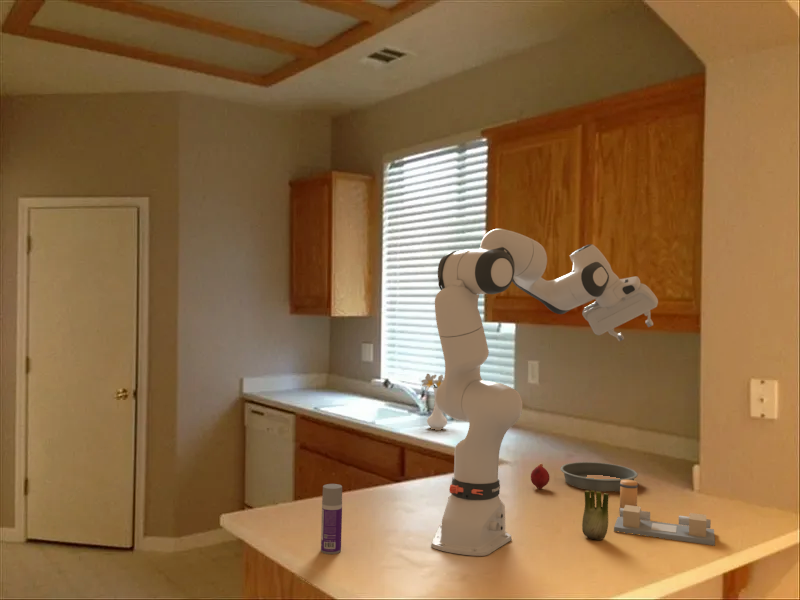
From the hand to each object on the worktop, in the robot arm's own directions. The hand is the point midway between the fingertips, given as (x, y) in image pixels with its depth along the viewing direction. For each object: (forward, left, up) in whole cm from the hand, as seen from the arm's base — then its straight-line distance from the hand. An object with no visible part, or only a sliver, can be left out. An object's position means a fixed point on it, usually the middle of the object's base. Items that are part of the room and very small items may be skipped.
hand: (636, 332), depth 211 cm
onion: (+9, +29, -51) cm, 59 cm away
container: (-70, +62, -51) cm, 106 cm away
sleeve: (-6, 0, -51) cm, 51 cm away
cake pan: (+26, +12, -51) cm, 59 cm away
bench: (-20, -9, -51) cm, 56 cm away
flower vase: (+94, +91, -51) cm, 141 cm away
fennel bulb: (-33, +7, -51) cm, 61 cm away
